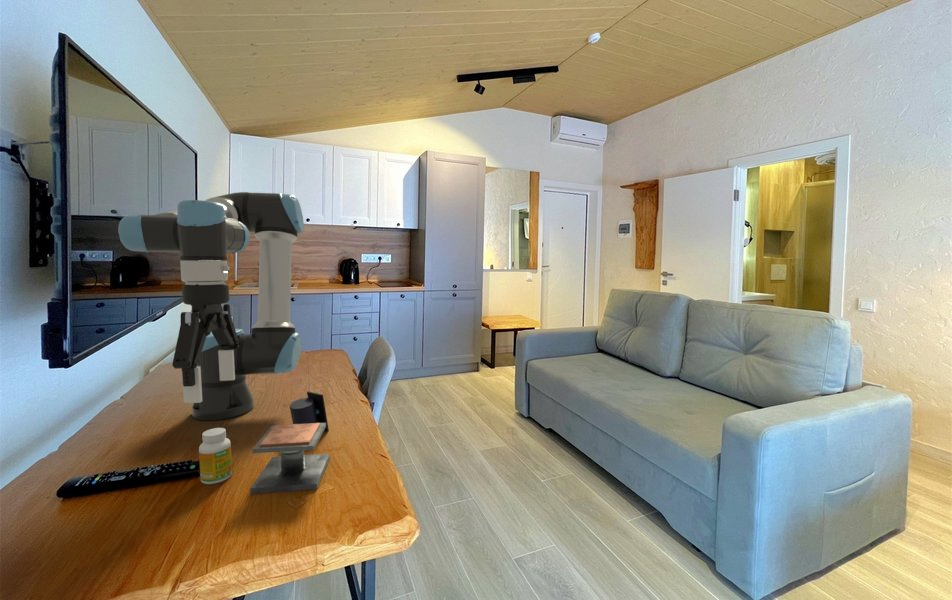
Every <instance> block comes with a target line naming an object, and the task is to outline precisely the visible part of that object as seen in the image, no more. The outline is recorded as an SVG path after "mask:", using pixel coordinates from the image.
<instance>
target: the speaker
mask: <svg viewBox="0 0 952 600" xmlns="http://www.w3.org/2000/svg"><path fill="white" fill-rule="evenodd" d="M306 395H307V397H303V398H298V399H296V400H294V401H292V402H291V403H290V405H289V410H290V411H289V412H290V416H291V421H292V424H309V423H326V427H325V429H324V431H323V432H327V431H328V432H329V431H330V429H329V424H328V418H327V411H326V406H325V405H326V404H325V399H324V394H322V393H319V392H318V393H317V392H313V391H309V390H308V391H306Z"/></svg>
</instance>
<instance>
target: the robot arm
mask: <svg viewBox="0 0 952 600" xmlns="http://www.w3.org/2000/svg"><path fill="white" fill-rule="evenodd" d="M299 201H300V200H299V199H298V198H297V197H296V196H295V195H294V194H290V193H288V194H287V193H282V192H278V193H274V192H273V193H271V192H246V191H242V192H241V191H240V192H232V193H227V194H223V195H218V196H213V197H210V198H208V199H205V200H201V199H200V200H199V199H185V200H181V201H179V202H178V204H177V209H175V210H171V211H167V212H162V213H157V214H148V215H146V214H143V213H141V214H128V215H125V216H124V217H123V218H121V220H120V221H119V224H118V227H117V228H118V230H117V231H118V235H119V240H120V243H122V245H123V246H124V247H125V248H126V250H128V251H131V252H144V253H147V254H149V253H179V254H180V256H179V257H180V259H179V260H180V262H179V263H180V280H181V281H182V282H183V283H184V284H183V285H182V286H181V291H182V292H181V293H182V303H183V304H185V305H188V306H189V305H190V306H191V310H190V311H182V312H181V313H180V326H179V330H178V334H177V335H178V337H177V340H176V346H175V350H174V353H173V359H172V365H171V366H172V367H173V368H174V369H175V370H176V369H181V378H182V379H181V380H182V393H183V394H182V396H183V404H192V407H191V415H192V418H193V417H194V418H193V419H195V420H198V421H220V420H226V419H231V418H234V417H238V416H241V415H243V414H246V413H248V412H250V411H252V410H253V408H254V407H255V402H254V401H255V400H254V396H253V394H252V391H251V389H250V387H249V386H248V385H249V384H248V383H247V379H246V378H247V377H246V375H279V374H285V373H286V374H287V373H291V372H293V371H294V370H295V369H296V367H297V366H298V363H299V361H300V357H301V352H302V335H301V333H299V332H296V326H295V325H294V324H293V323H292V322H291V297H292V296H291V288H292V286H291V284H292V254H293V253H292V247H293V244H294V243H295V242H296V241H297V240H298V234H303V232H304V230H305V229H304V227H305V225H304V223H305V222H304V216H303V212H302V207H301V203H300V202H299ZM251 233H254V237H255V239H257V240H258V241H259V263H258V265H259V267H258V268H259V269H258V270H259V271H258V295H257V296H258V297H257V298H258V299H257V300H258V302H257V321H256V323H254V325H252V326H251V329H250V330H251V331H250V334H249V333H248V334H246V333H245V331H244V330H243V329H242V328H236V327H235V325H234V321H233V317H232V315H231V307H230V304H229V302H230V285H228V283H225V282H227V281H228V280H229V272H228V271H229V270H231V269H230V266H229V265H228V254H233V255H234V254H236V253H239V252H242V251H244V250H245V249H247V247H248V246H249V243H250V240H251Z"/></svg>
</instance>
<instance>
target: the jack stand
mask: <svg viewBox="0 0 952 600" xmlns="http://www.w3.org/2000/svg"><path fill="white" fill-rule="evenodd" d="M325 427H326V423H309V424H293V423H290V424H273V425H271V427H269V429H267V431H266V432H265V433H264V435H263V436H262V437H261V438H260V439H259V441H258V442H257V443H256V444H255V445H254V447H252V450H251V451H252V454H262V453H267V454H268V453H279V454H280V456H273V457H271V458H270V460H269V461H268V462H267V464H266V465H265V467H263V470H262V471H261V472H260V473H259V475H258V477H257V478H256V479H255V480H254V482H253V483H252V485H251V486H250V488H249V492H250V495H257V494H268V493H269V494H270V493H271V494H273V493H286V492H299V491H300V492H301V491H312V490H316V491H317V490H318V488H319V486H320V483H321V480H322V478H323V476H324V473H325V472H326V469H327V467H328V464H329V463H330V459H331V454H330V453H322V454H321V453H320V454H319V453H317V454H305V451H314V450H315V448H316V446H317V444H318V443H319V441H320V439H321V437H322V435H323V433H324V432H325V431H324V429H325Z"/></svg>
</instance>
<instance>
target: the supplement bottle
mask: <svg viewBox="0 0 952 600" xmlns="http://www.w3.org/2000/svg"><path fill="white" fill-rule="evenodd" d="M201 435H202V438H201V439H202V443H200V445H199V447H198V459H199V472H200V473H199V474H200V477H199V478H200V482H201V483H202V484H204V485H215V484H218V483H222V482H224V481H226V480H228V479H229V478H230V477H231V476H232V474H233V465H232V464H233V461H232V459H233V458H232V445H231V444H232V443H231V440H230V439H229V438H227V431H226V428H224V427H215V428H210V429H206V430H204V431H203V432H202V434H201Z"/></svg>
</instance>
